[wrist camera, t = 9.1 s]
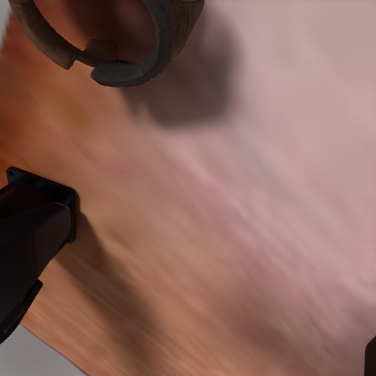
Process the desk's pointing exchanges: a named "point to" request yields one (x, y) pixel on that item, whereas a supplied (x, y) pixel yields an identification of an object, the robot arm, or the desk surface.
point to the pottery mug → (107, 52)
